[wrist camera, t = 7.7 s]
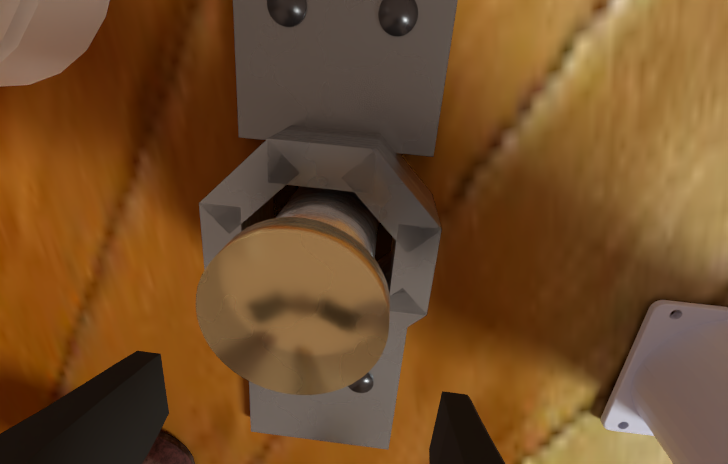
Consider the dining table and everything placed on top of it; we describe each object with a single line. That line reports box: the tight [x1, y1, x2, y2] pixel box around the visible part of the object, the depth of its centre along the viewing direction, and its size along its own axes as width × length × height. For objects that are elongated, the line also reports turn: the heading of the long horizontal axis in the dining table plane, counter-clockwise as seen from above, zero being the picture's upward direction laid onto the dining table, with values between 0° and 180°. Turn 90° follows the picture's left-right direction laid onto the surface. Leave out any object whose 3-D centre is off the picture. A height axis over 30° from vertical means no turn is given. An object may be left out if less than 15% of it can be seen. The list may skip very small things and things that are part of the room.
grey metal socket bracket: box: [199, 0, 457, 449], centre depth 16 cm, size 27×9×4 cm, turn 175°
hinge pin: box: [196, 186, 390, 395], centre depth 14 cm, size 5×5×8 cm
